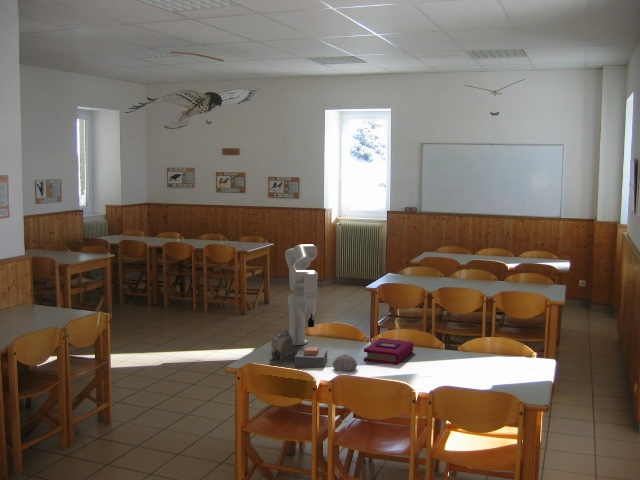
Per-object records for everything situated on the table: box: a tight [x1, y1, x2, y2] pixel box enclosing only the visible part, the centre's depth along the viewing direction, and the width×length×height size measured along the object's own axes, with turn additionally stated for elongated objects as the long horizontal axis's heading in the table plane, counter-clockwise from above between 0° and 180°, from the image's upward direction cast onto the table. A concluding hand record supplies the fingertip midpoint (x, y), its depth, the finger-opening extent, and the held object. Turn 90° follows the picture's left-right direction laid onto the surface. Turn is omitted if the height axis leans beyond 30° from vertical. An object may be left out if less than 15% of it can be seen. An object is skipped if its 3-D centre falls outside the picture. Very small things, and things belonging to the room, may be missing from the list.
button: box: [304, 346, 319, 355], centre depth 375 cm, size 7×7×3 cm
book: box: [363, 337, 414, 366], centre depth 386 cm, size 21×28×8 cm
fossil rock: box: [270, 329, 295, 361], centre depth 389 cm, size 21×10×15 cm, turn 157°
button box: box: [294, 348, 328, 368], centre depth 375 cm, size 16×16×6 cm
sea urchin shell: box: [332, 354, 358, 373], centre depth 363 cm, size 13×14×8 cm
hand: (311, 326), depth 373 cm, fingers closed
